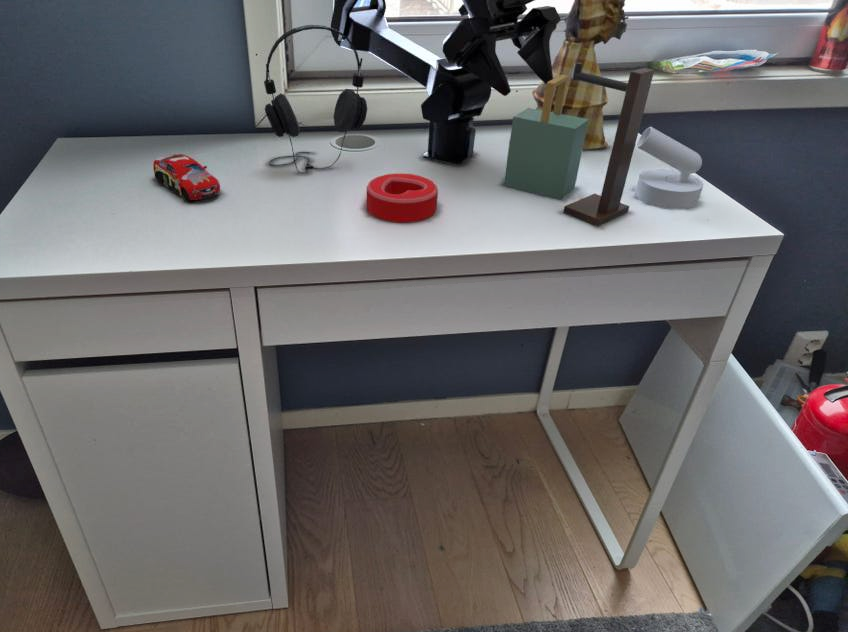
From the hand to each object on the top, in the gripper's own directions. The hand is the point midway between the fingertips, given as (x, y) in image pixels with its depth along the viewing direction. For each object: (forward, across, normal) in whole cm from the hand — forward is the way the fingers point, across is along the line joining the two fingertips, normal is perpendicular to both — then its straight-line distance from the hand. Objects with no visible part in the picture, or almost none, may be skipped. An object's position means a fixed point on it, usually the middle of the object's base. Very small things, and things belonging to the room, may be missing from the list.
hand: (529, 88), depth 90 cm
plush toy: (+4, +21, +15) cm, 26 cm away
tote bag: (+12, +1, +7) cm, 14 cm away
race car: (-10, -39, +30) cm, 50 cm away
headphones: (-8, -19, +27) cm, 34 cm away
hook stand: (+18, 0, +1) cm, 18 cm away
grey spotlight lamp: (+21, +12, -2) cm, 25 cm away
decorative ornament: (+7, -20, +12) cm, 24 cm away
